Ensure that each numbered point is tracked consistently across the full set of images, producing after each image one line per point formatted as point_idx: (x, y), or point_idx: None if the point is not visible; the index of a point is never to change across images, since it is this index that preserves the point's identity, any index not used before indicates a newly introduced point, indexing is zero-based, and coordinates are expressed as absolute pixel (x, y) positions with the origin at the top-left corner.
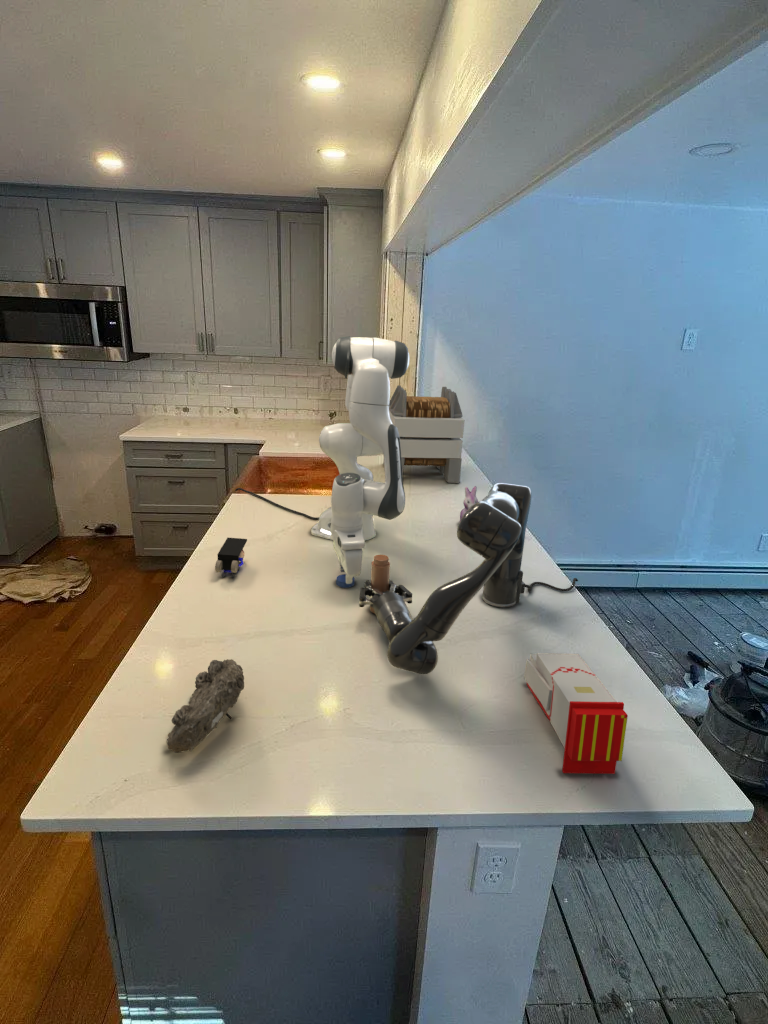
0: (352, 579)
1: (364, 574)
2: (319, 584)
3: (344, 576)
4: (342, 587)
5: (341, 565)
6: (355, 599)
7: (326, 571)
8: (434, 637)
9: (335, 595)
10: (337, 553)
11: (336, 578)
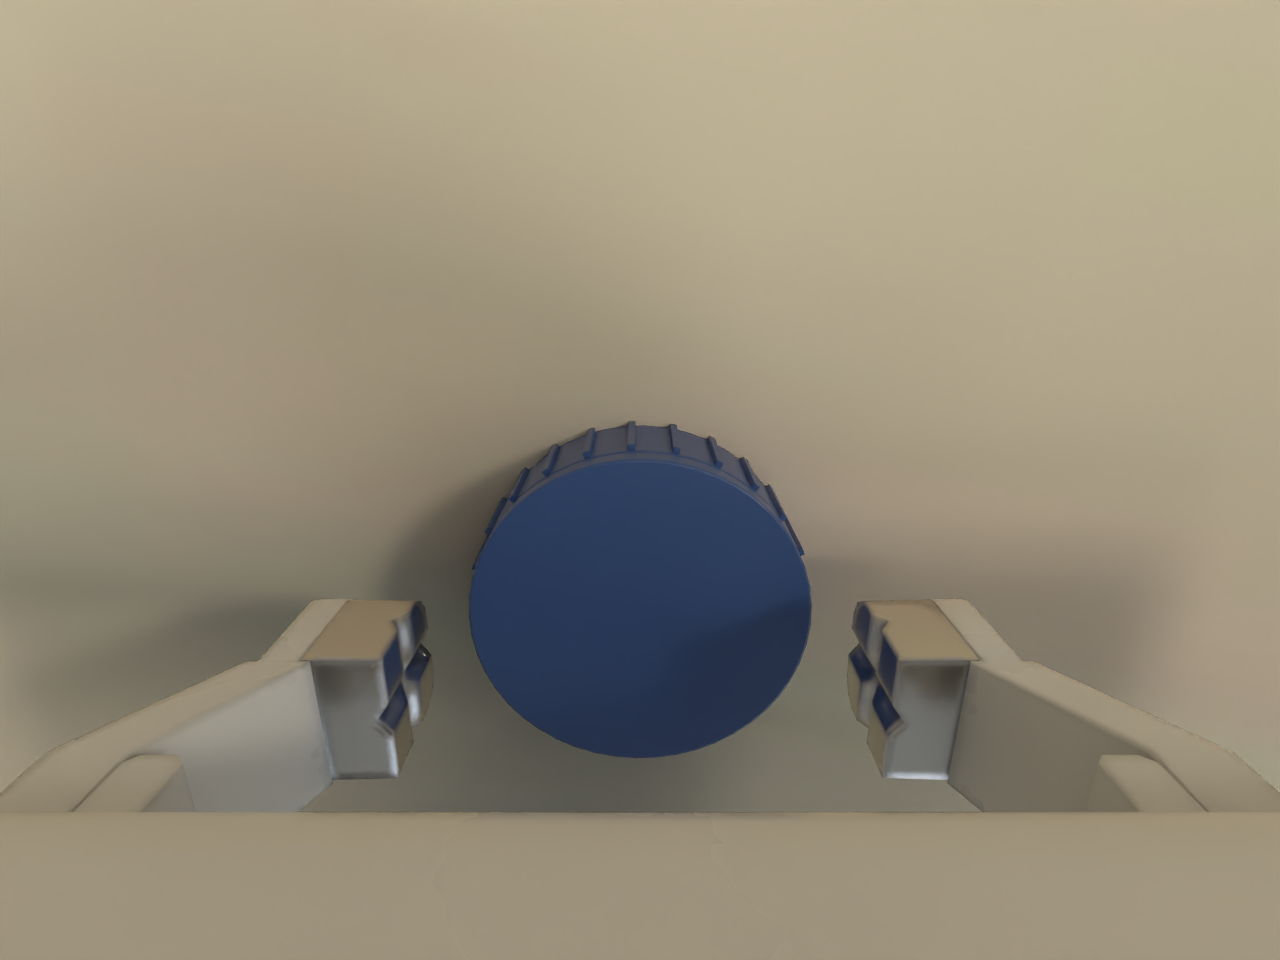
0: (561, 717)
1: None
2: (701, 96)
3: (710, 617)
4: (503, 499)
5: (962, 691)
6: (95, 603)
7: (1199, 347)
8: None
9: (223, 327)
10: (1220, 950)
11: (658, 461)
